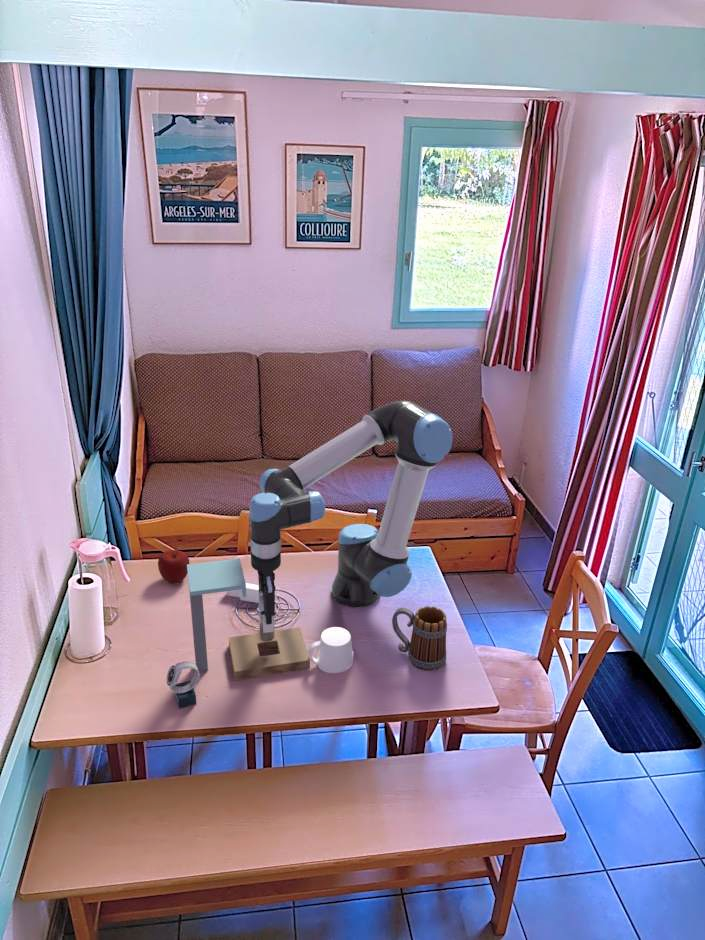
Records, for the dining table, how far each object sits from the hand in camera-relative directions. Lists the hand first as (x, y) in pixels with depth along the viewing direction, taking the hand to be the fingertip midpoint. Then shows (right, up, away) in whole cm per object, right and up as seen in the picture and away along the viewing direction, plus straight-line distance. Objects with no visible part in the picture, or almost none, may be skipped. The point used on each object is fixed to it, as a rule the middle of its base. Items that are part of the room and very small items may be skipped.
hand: (267, 625), depth 194 cm
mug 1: (+17, -11, +3) cm, 21 cm away
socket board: (0, -10, +5) cm, 11 cm away
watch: (-20, -17, -10) cm, 27 cm away
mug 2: (+41, -10, +7) cm, 43 cm away
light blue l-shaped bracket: (-12, -11, +2) cm, 17 cm away
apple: (-33, +7, +36) cm, 49 cm away
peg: (0, -3, +2) cm, 4 cm away
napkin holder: (-10, +2, +30) cm, 31 cm away
